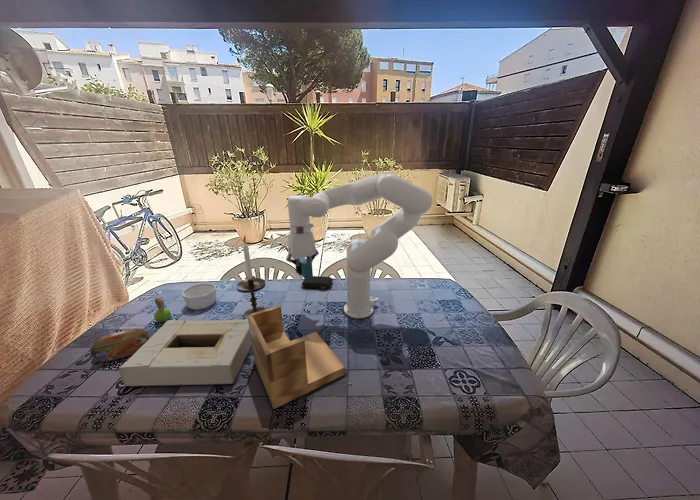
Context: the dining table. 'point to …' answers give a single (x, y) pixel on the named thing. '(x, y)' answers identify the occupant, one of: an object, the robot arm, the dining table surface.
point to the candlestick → (250, 283)
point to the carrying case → (317, 282)
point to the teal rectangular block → (306, 268)
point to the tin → (119, 344)
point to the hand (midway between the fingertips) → (304, 272)
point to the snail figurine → (161, 311)
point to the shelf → (289, 358)
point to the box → (190, 354)
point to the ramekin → (200, 296)
